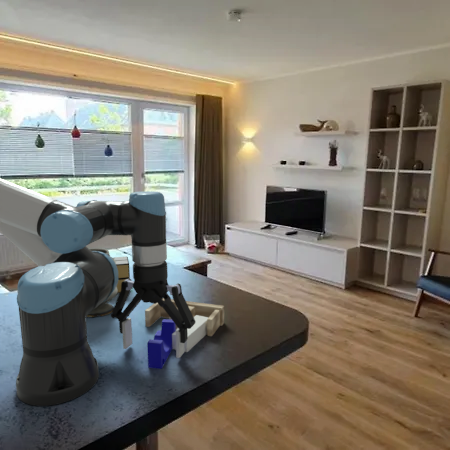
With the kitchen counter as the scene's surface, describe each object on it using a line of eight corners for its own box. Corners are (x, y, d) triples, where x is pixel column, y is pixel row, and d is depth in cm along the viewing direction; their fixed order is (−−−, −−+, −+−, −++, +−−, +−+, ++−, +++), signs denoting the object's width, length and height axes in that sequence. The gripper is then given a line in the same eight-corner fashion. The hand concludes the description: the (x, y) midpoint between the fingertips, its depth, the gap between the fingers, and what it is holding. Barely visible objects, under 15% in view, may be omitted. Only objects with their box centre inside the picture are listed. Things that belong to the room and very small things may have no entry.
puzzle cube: (99, 285, 133) (98, 258, 131) (128, 282, 136) (127, 256, 134) (99, 295, 124) (97, 266, 122) (130, 292, 127) (129, 263, 125)
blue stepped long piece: (158, 341, 93) (157, 318, 92) (175, 342, 93) (175, 319, 92) (141, 367, 81) (140, 342, 80) (161, 369, 81) (160, 343, 80)
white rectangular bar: (187, 353, 88) (186, 337, 87) (172, 349, 89) (172, 334, 89) (209, 332, 99) (209, 317, 98) (196, 329, 100) (196, 315, 99)
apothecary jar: (77, 322, 103) (72, 259, 100) (73, 306, 114) (69, 249, 111) (121, 314, 109) (119, 254, 105) (114, 300, 119) (111, 245, 116)
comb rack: (214, 336, 95) (214, 318, 94) (143, 325, 101) (142, 308, 100) (224, 323, 103) (224, 305, 102) (158, 313, 109) (157, 297, 108)
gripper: (208, 261, 83) (209, 350, 87) (111, 253, 90) (116, 335, 94) (195, 271, 76) (197, 367, 80) (91, 261, 83) (97, 350, 87)
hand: (153, 350), depth 87 cm, fingers open, 13 cm apart
